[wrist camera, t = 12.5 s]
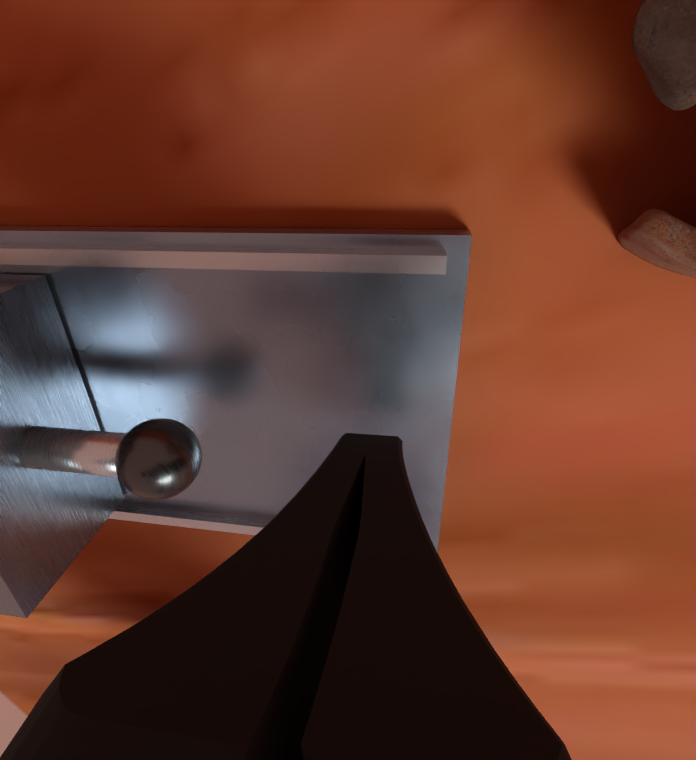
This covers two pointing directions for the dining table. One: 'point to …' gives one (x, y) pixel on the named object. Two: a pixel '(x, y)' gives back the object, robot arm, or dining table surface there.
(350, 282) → the vise
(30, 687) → the dining table surface
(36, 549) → the jaw
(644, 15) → the pottery mug
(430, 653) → the robot arm
